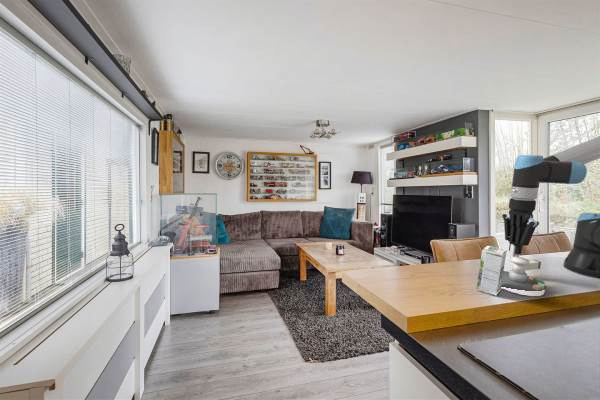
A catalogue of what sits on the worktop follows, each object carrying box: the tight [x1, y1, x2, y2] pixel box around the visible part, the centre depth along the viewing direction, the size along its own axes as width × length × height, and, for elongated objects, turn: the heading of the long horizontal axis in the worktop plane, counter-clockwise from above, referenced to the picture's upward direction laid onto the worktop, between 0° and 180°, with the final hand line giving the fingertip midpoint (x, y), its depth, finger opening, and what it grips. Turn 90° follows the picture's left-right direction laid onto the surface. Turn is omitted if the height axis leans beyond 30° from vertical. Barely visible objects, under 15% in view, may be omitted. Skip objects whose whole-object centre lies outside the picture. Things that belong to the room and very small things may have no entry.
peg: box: [511, 256, 542, 274], centre depth 96 cm, size 11×5×4 cm, turn 106°
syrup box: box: [475, 245, 507, 293], centre depth 91 cm, size 6×6×14 cm
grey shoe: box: [501, 269, 547, 291], centre depth 96 cm, size 15×15×5 cm
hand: (513, 261), depth 104 cm, fingers closed
